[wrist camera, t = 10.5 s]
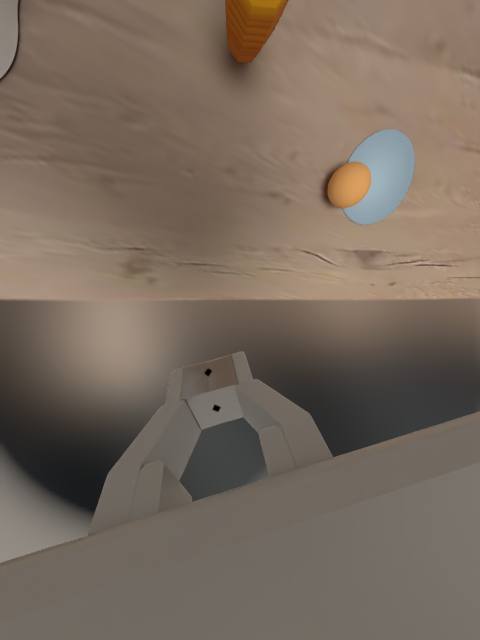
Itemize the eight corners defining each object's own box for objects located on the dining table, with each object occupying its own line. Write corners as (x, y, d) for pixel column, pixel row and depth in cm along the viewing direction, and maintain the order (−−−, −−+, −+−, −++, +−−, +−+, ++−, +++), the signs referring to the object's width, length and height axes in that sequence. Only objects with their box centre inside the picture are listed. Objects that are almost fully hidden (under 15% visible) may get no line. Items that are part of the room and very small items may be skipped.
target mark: (342, 138, 28) (343, 138, 28) (423, 122, 29) (424, 121, 28) (337, 231, 34) (337, 231, 34) (403, 216, 35) (404, 216, 34)
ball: (375, 150, 24) (367, 159, 28) (325, 167, 26) (326, 173, 31) (374, 200, 26) (368, 202, 31) (328, 212, 28) (329, 212, 33)
